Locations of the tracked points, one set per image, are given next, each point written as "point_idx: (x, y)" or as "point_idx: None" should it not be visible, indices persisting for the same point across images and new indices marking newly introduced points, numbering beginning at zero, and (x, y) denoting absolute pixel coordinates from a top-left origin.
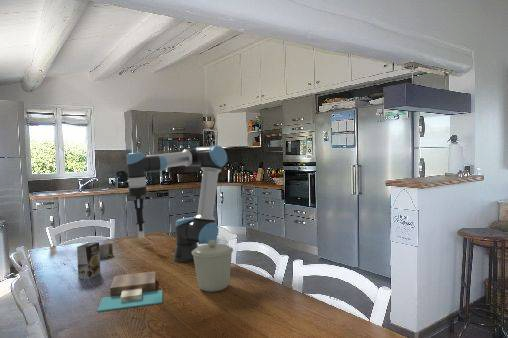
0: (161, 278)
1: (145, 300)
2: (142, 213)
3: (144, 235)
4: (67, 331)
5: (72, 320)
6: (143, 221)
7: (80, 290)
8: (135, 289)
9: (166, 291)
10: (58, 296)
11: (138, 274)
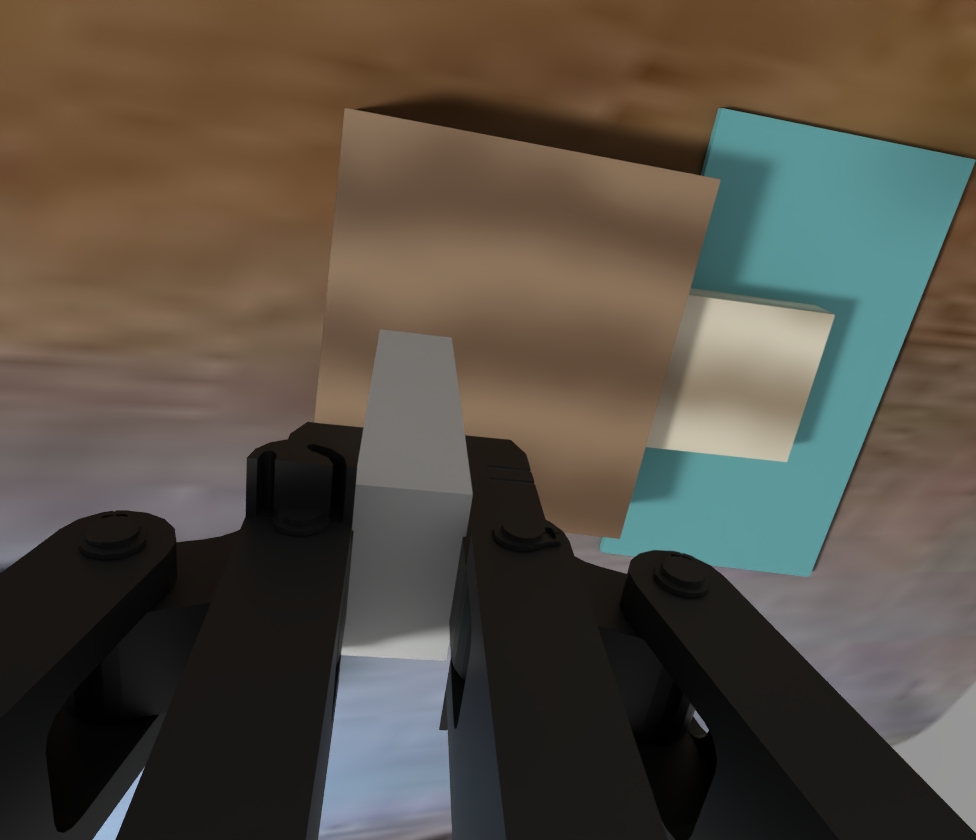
0: (346, 41)
1: (855, 280)
2: (270, 815)
3: (442, 350)
4: (952, 683)
5: (832, 676)
6: (330, 511)
7: (340, 678)
8: (687, 348)
9: (745, 70)
10: (394, 776)
11: (375, 299)
